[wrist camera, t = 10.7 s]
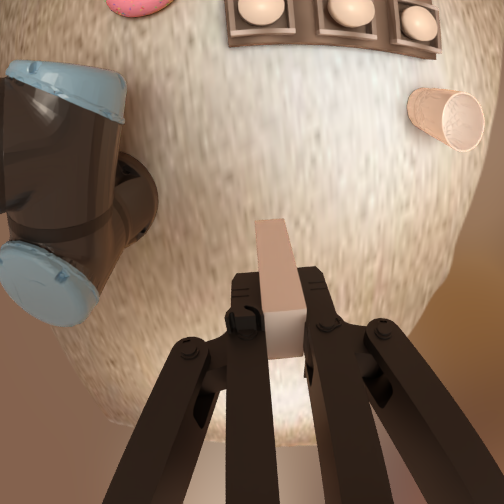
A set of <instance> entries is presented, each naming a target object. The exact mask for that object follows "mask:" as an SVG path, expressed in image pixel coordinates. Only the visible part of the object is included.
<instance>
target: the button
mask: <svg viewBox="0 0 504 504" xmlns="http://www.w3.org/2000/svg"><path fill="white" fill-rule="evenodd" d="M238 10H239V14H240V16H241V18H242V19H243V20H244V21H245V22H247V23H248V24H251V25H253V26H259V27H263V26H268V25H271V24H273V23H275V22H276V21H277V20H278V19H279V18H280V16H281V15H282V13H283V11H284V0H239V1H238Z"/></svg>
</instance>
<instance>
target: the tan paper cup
mask: <svg viewBox="0 0 504 504" xmlns="http://www.w3.org/2000/svg"><path fill="white" fill-rule="evenodd" d="M407 111H408V116H409V118H410V120H411V121H412V123H413V124H414V125H415V126H416V127H418V128H419V129H421V130H423V131H424V132H426V133H427V134H429V135H431V136H432V137H434V138H436V139H437V140H439V141H441V142H443V143H445V144H446V145H448V146H450V147H451V148H453V149H455V150H457V151H460V152H467V151H470V150H472V149H473V148H474V147H476V145H477V144H478V143H479V141H480V140H481V138H482V135H483V131H484V114H483V110H482V108H481V105H480V104H479V102H478V101H477V99H476V98H475V97H474V96H472V95H471V94H469V93H466V92H460V91H454V90H447V89H437V88H432V89H430V88H420V89H417V90H414V92H413V93H412V94H411V95H410V97H409V99H408V104H407Z"/></svg>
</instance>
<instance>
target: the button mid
mask: <svg viewBox="0 0 504 504" xmlns="http://www.w3.org/2000/svg"><path fill="white" fill-rule="evenodd" d="M328 11H329V13H330V15H331V17H332V18H333V19H334V20H335V21H336V22H337V23H339V24H341V25H343V26H345V27H350V28H355V27H359V26H362V25H365V24H367V23H369V22H370V21H371V20H372V19H373V17H374V14H375V9H374V5H373V2H372V1H371V0H328Z"/></svg>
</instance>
